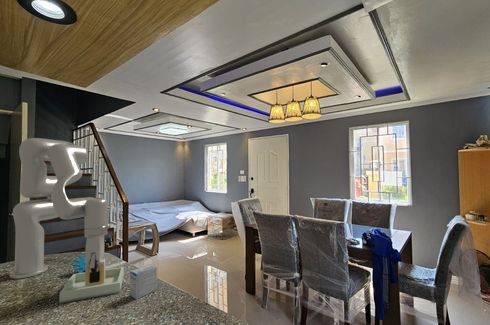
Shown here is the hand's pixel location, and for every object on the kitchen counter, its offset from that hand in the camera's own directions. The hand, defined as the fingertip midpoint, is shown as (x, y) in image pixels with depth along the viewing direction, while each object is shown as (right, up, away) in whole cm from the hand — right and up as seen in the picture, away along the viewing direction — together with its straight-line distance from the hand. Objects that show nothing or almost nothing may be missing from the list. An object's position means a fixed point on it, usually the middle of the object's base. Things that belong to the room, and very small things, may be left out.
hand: (95, 279), depth 91 cm
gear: (-13, -4, +15) cm, 20 cm away
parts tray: (0, -3, 0) cm, 3 cm away
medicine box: (+20, -3, -5) cm, 21 cm away
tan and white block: (0, -1, 0) cm, 1 cm away
